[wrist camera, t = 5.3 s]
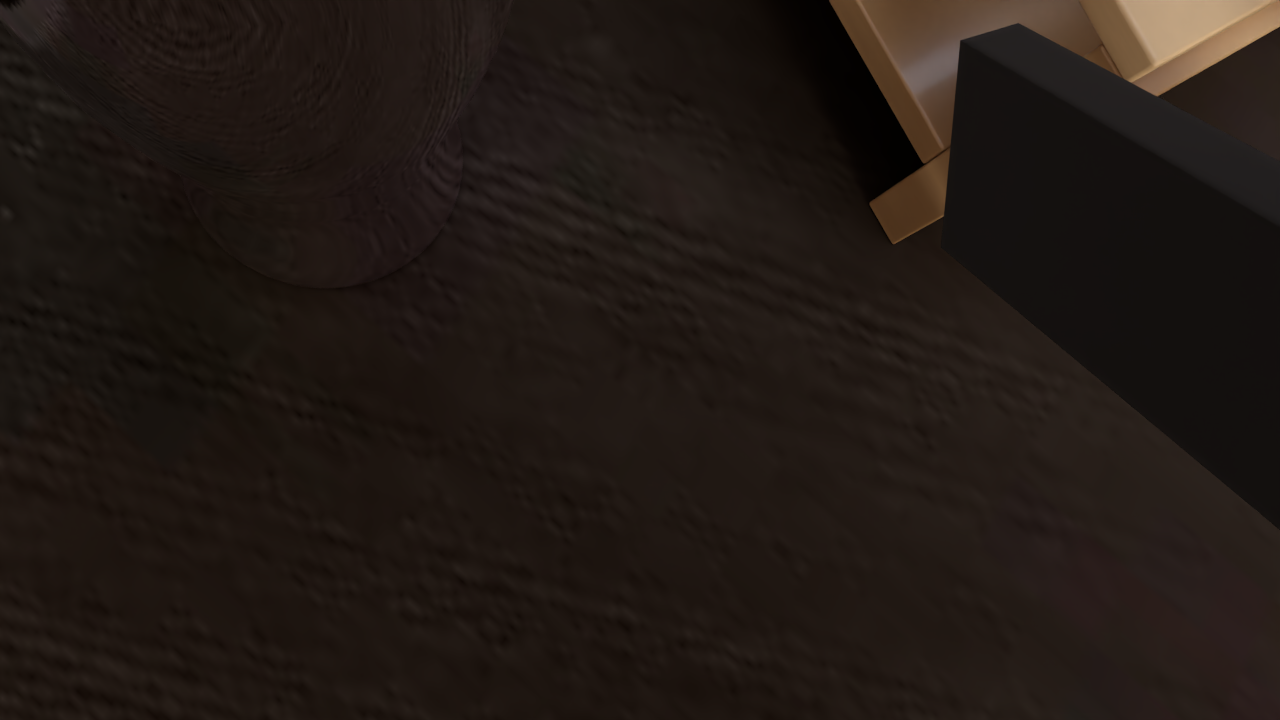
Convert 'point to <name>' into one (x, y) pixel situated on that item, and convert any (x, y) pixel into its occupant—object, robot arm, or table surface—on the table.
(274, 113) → the beer glass
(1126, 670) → the table surface
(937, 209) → the shoe rack
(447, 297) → the table surface
